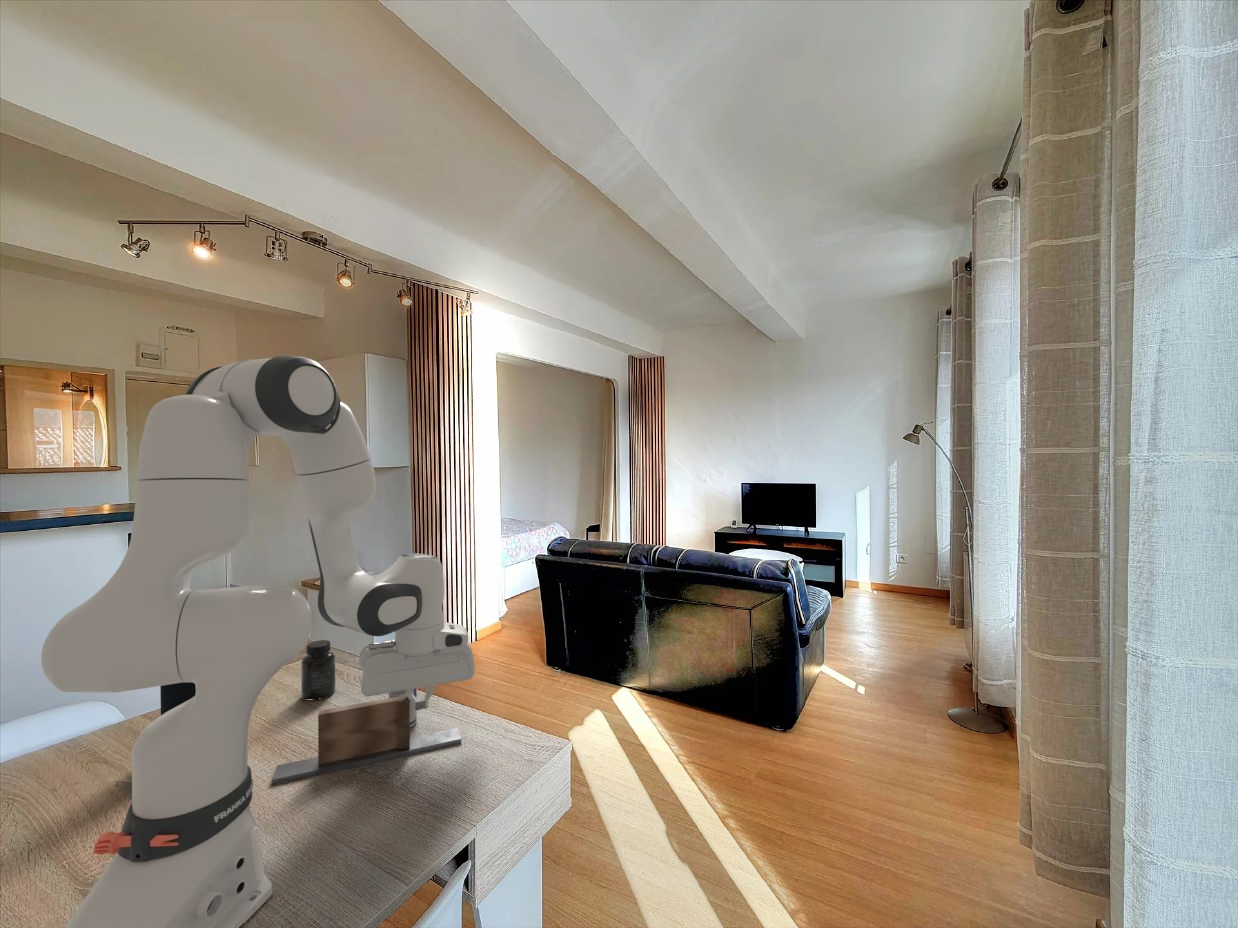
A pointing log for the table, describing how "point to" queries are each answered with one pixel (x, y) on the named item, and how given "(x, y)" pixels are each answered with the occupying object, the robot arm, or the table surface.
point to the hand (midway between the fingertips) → (420, 708)
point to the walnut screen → (363, 729)
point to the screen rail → (364, 757)
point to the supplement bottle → (318, 670)
